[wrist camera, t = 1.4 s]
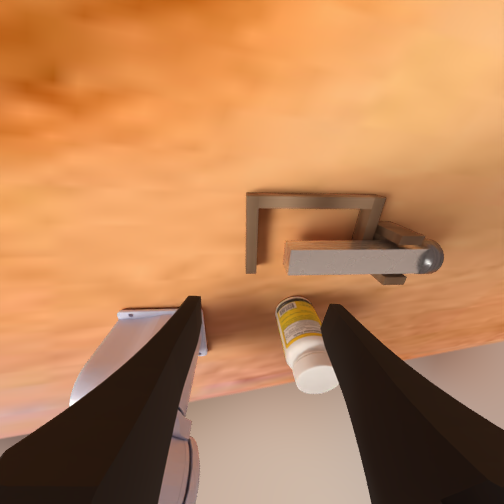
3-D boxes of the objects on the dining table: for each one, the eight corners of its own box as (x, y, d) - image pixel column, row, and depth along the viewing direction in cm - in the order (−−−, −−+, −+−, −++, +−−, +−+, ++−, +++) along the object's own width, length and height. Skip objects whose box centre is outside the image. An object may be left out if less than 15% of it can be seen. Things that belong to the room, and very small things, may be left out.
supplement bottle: (306, 325, 25) (335, 398, 17) (271, 322, 24) (285, 396, 17) (317, 296, 23) (356, 364, 15) (279, 292, 22) (300, 361, 15)
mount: (245, 265, 20) (246, 288, 17) (246, 192, 17) (248, 201, 13) (375, 264, 21) (403, 285, 18) (399, 194, 18) (440, 203, 14)
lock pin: (281, 264, 19) (288, 283, 16) (284, 234, 17) (293, 248, 15) (405, 262, 20) (433, 280, 17) (417, 233, 18) (450, 247, 15)
